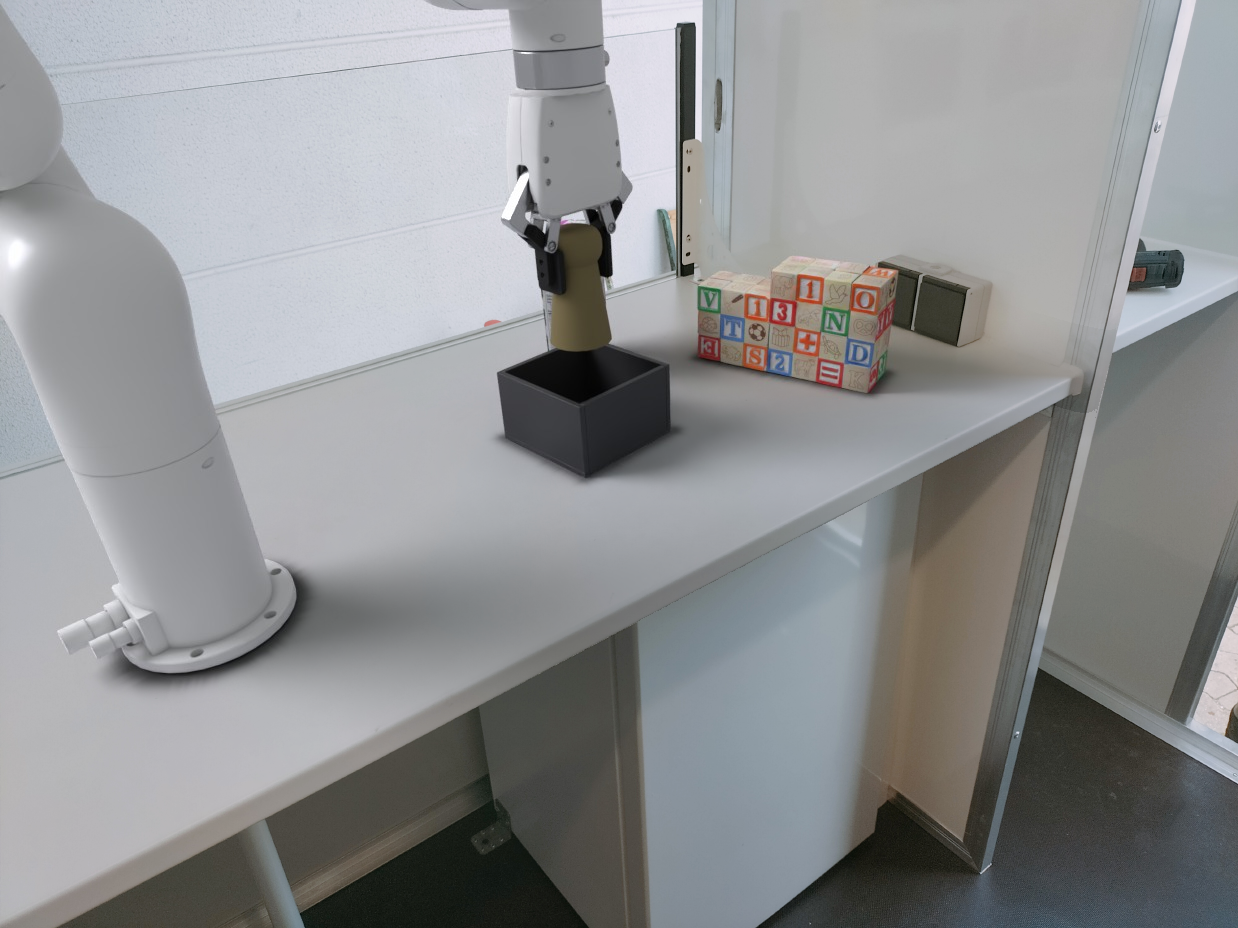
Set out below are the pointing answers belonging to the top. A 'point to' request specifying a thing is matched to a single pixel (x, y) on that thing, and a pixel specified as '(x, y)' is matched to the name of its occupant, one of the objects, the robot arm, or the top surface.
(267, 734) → the top surface
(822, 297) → the stack of blocks
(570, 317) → the cork
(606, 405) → the basket
